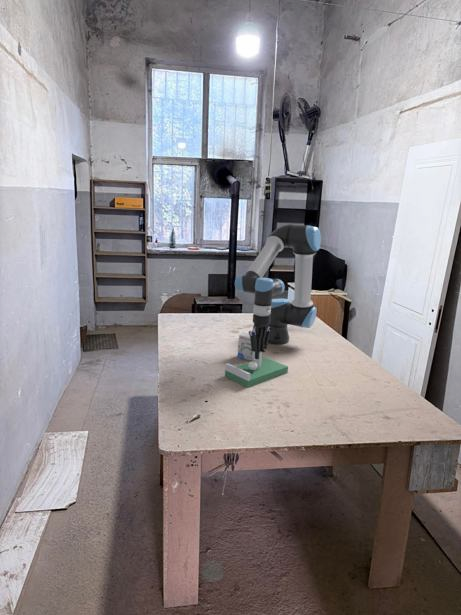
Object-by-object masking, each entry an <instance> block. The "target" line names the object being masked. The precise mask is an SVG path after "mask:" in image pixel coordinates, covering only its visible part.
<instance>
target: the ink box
mask: <svg viewBox="0 0 461 615" xmlns="http://www.w3.org/2000/svg"><path fill="white" fill-rule="evenodd" d="M237 358H239V359H242V360H248V361H249V362H252V361H255V352H254V351H252V349H251V340H250V335H249V332H242V333H240V334H239V335H238V346H237Z"/></svg>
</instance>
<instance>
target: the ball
mask: <svg viewBox="0 0 461 615" xmlns="http://www.w3.org/2000/svg"><path fill="white" fill-rule="evenodd" d="M254 361H255V360H253V361H249V362H250V363H249V362H248V363H249V365H248V367H249V369H250V370H256V369H257V363H256V362H254Z"/></svg>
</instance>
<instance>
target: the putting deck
mask: <svg viewBox="0 0 461 615" xmlns="http://www.w3.org/2000/svg"><path fill="white" fill-rule="evenodd" d="M253 361H254V362H255V360H253ZM250 362H251V361H249V362H246V363H243V364H240V365H237V366H235V365H232V364H230V363H229V362H227V363H225V364H224V365H225V367H224V368H225V369H224V378H227V379H229V380H232V381H233V382H235V383H238V384H240V385H242V386H243V387H246V388H250V387H253V386H255V385H258V384H261V383H263V382H266V381H268V380H272V379H275V378H277V377H280V376H283V375H285V374H288V373H289V372H288V371H289V366H288V365H285V364H284V363H280V362H278V361H276V360H274V359H270V358H268V357H262V364H261V366H257V369H256V370H250V369H249V367H248V365H249V363H250Z"/></svg>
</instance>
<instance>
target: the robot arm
mask: <svg viewBox="0 0 461 615" xmlns="http://www.w3.org/2000/svg"><path fill="white" fill-rule="evenodd" d="M321 242H322V234H321V232H320V229H319V227H316V226H312V225H305V224H292V223H289V224H287V223H286V224H284V225H281V226H279V227H277V228H276V229H275V230H273V231H272V232H271V233H270V234H269V235H268V237H267V238H266V240H265V245H264V246H263V248H262V249H261V250H260V252H259V253H258V255H257V256H256V258H255V259H254V261H253V262H252V264H251V265H250V267H249V268H248V269H247V271H246V272H245V274H239V275H237V276H236V278H235V280H234V287H235V288H234V289H236V290H237V291H239V292H242V293H248V294H254V297H253V298H254V300H253V311H252V312H253V314H252V323H253V326H252V330H249V331H248V333H249V335H250V340H251V349H252V351H254V352H255V360H254V361H255V362H256V363H257V366H261V364H262V358H264V356H263V355H264V353H265V352H266V350H267V349H268V345H269V344H274V345H283V344H284V345H285V344H287V343H289V342H290V335H289V330H288V325H289V326H294V327H299V328H302V329H303V328H306V329H309V328H311V327H312V326H313V324H314V323H315V320H316V318H317V312H318V309H317V307H315V306H314V301H313V300H311V299H312V298H311V297H312V296H311V295H312V281H313V280H312V279H313V263H314V262H313V260H314V256H315V255H316V254H317V251H319V250H320V248H321V244H322V243H321ZM284 248H289V249H292V253H293V254H294V255H295V265H294V267H295V268H294V293H293V294H294V295H293V300H290V299H289V298H276V297H279V296H280V295H282V294H283V293H284V291H285V289H286V286H285V284H284V282H283V281H282V280H281V279H279V278H269V277H264V276H265V274H266V272H267V271H268V270H269V269H270V266H271V265H272V264H273V262H274V260H275V258H276V257H277V256H278V254H279V252H282V251H283V250H284Z"/></svg>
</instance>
